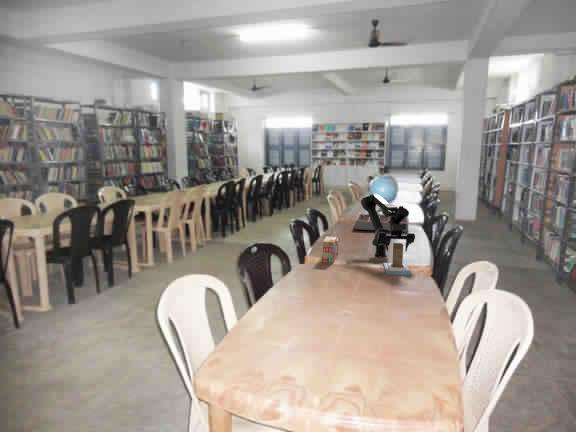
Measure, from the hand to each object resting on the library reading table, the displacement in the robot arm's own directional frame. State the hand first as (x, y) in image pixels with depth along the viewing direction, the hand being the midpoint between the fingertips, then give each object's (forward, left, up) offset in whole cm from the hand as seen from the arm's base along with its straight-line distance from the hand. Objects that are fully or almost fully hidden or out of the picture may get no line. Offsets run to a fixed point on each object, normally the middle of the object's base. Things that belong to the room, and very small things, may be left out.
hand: (396, 251), depth 204 cm
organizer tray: (-108, +2, -10) cm, 108 cm away
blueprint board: (+2, 0, -9) cm, 10 cm away
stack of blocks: (-17, -35, -10) cm, 40 cm away
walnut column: (+3, 0, -8) cm, 9 cm away
